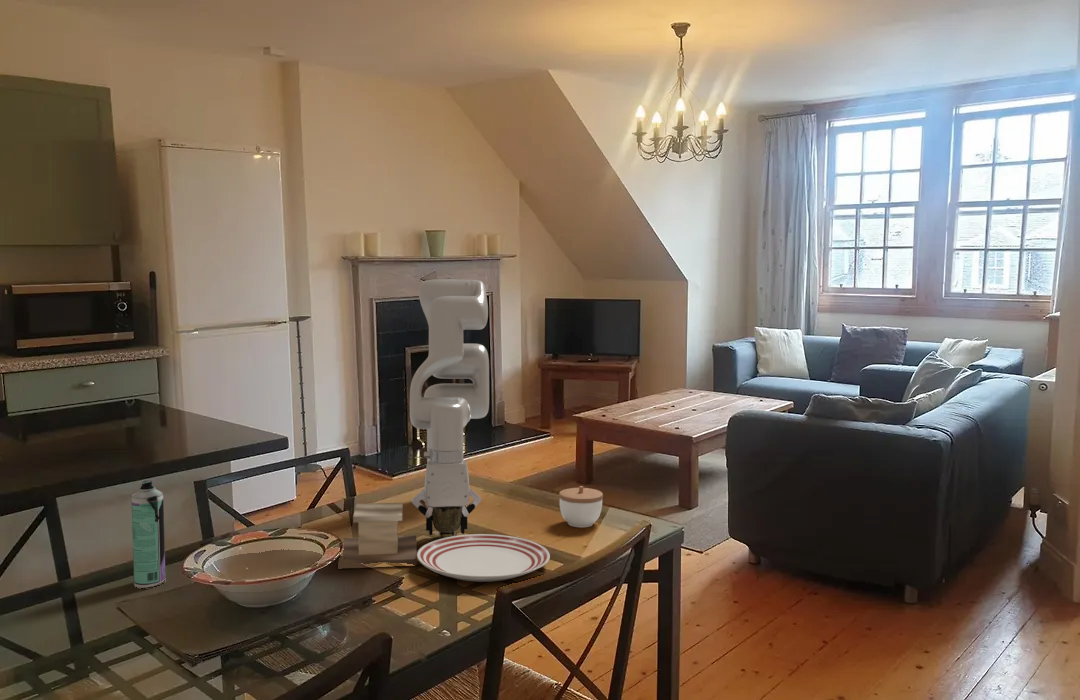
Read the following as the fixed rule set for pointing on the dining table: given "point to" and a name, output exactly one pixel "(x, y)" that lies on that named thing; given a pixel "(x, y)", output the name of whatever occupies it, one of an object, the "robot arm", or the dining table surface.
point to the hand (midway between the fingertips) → (446, 532)
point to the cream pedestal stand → (380, 536)
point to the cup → (446, 520)
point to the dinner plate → (483, 557)
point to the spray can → (148, 536)
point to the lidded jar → (580, 506)
